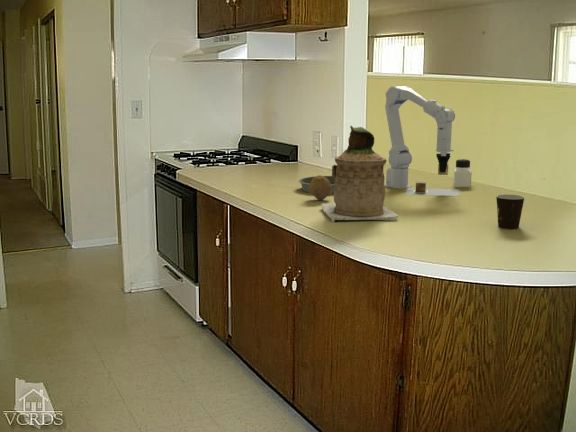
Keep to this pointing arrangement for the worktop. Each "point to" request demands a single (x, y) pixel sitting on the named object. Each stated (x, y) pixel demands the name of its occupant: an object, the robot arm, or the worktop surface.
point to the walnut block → (421, 187)
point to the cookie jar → (359, 182)
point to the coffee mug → (509, 210)
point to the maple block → (443, 172)
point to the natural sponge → (320, 187)
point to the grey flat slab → (434, 192)
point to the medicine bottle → (462, 173)
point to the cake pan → (306, 181)
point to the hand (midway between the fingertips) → (442, 171)
